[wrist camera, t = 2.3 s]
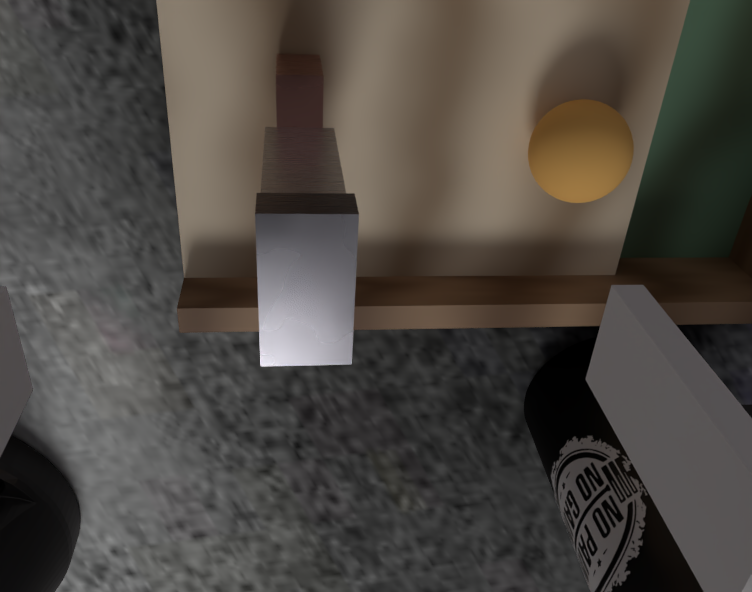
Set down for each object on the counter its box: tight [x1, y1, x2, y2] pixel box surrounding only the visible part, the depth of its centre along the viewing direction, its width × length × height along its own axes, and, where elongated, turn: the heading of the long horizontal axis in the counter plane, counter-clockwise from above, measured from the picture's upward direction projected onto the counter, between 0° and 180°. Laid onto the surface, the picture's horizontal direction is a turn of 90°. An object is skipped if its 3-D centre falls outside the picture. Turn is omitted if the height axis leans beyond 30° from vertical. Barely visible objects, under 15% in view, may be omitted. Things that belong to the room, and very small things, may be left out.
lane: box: [156, 0, 752, 333], centre depth 29 cm, size 28×16×5 cm, turn 87°
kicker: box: [255, 53, 359, 366], centre depth 22 cm, size 2×6×12 cm, turn 177°
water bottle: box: [524, 338, 703, 592], centre depth 30 cm, size 10×10×23 cm
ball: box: [528, 99, 634, 203], centre depth 28 cm, size 4×4×4 cm
